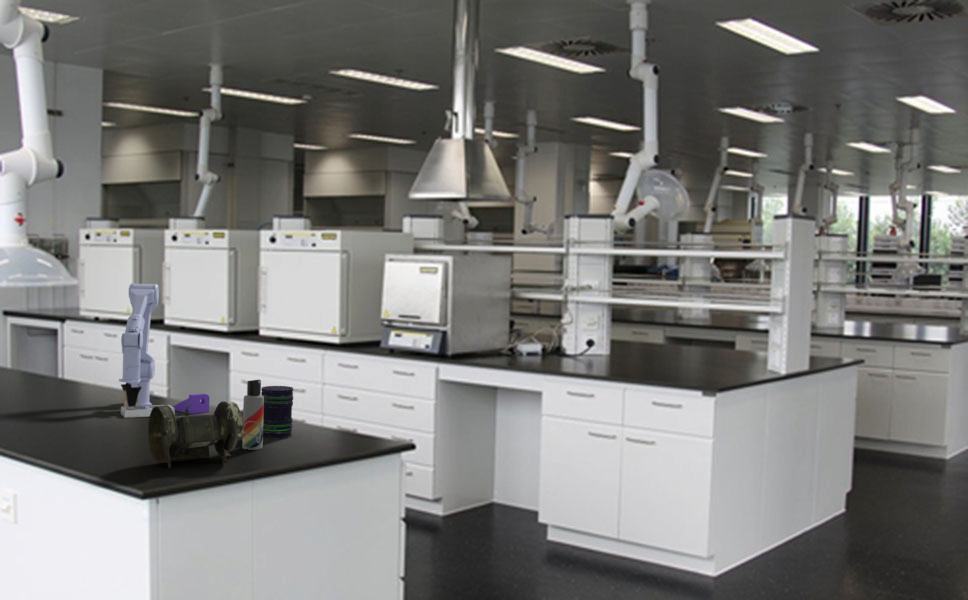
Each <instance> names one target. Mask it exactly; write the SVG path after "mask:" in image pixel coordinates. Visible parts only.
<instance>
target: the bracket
mask: <svg viewBox="0 0 968 600" xmlns="http://www.w3.org/2000/svg"><path fill="white" fill-rule="evenodd" d="M190 401H192V402H191V403H190V405H189V407H188V410H189V415H198V414H205V413H210V395H208V394H207V393H194V394H193V393H192V394H188V398H186V399H184V400H182V401H181V402H179V403H176V404H174V405H173V406H172V407H174V408H175V411H178V412H181V413H185V414H186V411H185V410H186V407H187V405H188V404H189V402H190Z"/></svg>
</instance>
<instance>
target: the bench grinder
mask: <svg viewBox="0 0 968 600" xmlns="http://www.w3.org/2000/svg"><path fill="white" fill-rule="evenodd" d="M191 402H192V401H190V402H189V404H188V405H187V407H186V410H185V411H186V413H185V416H179V417H176V416H175V415H174V413H173V411H172V409H171V408H170V407H169V406H168V405H169V404H163V405H164V406H156V407H154V408H153V409H152V411H151V413H150V417H148V422H147V423H148V425H147V430H148V431H147V439H148V440H147V441H148V446H149V450H150V453H151V454H150V455H151V456H152V458H153V460H154V461H155V462H156V463H157V464H163V463H165V464H167V466H168V469H171V467H172V463H173V461H174V462H182V461H194V460H203V459H209V458H210V457H211V454H210V446H214V449H215V451H216V452H217V454H218V455H219V456H220V457H221V463H222V464H223V463H225V462H226V461H227V457H231V456H232V455H231V453H229V452H230V451H233V450H234V449H235V448H236V446H237V443H238V440H239V438H241V437H243V434H244V429H243V414H242V412H241V409H240V407H239V405H238V404H237V403H236V402H235V401H232V400H231V401H220V402H219V403H218V404H217V406H216V408H215V409H214V412H213V414H191V415H190V414H189V410H188V407H189V405H190V403H191Z"/></svg>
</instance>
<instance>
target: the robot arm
mask: <svg viewBox="0 0 968 600" xmlns="http://www.w3.org/2000/svg"><path fill="white" fill-rule="evenodd" d="M159 294H160V286H159V285H158V284H157V283H133V282H132V283H130V284H129V286H128V298H129V303H130V305H131V307H132V312H131V313H132V314H131V315H130V316H128V317H127V322H126V326H125V330H124V333H122V334H121V339H120V340H121V341H120V343H121V353H122V378H119V379H118V381H119V382H121V383H123V384H120V386H121V389H122V390H123V392H124V390H125V391H126V394H127V401H128V406H135V405H136V401H137V397H138V406H150V405H153V403H152V402H150V392H151V390H150V388H151V387H150V384H151V382H150V381H151V380H152V379H153V378H154V376H155V370H156V369H155V367H156V366H155V363H156V362H155V358H154V357H153V356H152V355H151V354H149V353H148V350H149V349H148V348H149V339H150V329H151V316H152V314H153V311H154V310H155V309H158V306H159V298H160V297H159V296H160V295H159Z"/></svg>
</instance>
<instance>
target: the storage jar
mask: <svg viewBox="0 0 968 600" xmlns="http://www.w3.org/2000/svg"><path fill="white" fill-rule="evenodd" d="M293 391H294V387H292V386H285V385H267V386H261V395H262V396H264V412H263V437H264V438H263V439H268V438H272V439H274V440H281V438H284V439H288V437H289V438H291V437H293V434H292V432H293V417H292V416H293V415H292V413H293V405H294V392H293ZM272 439H271V440H272Z"/></svg>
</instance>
